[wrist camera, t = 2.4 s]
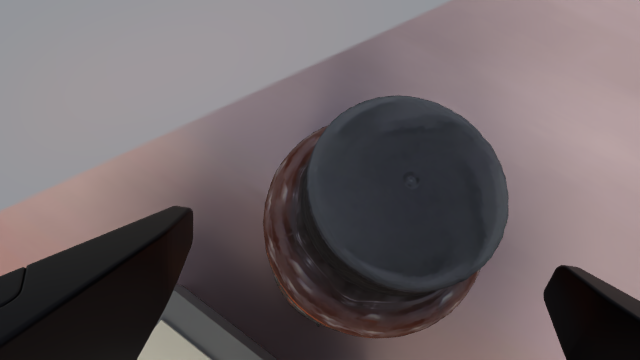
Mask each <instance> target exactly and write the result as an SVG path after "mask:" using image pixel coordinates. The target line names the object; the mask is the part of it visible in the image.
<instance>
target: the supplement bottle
mask: <svg viewBox="0 0 640 360" xmlns="http://www.w3.org/2000/svg"><path fill="white" fill-rule="evenodd" d="M507 219H508V190H507V184H506V178H505V175H504V173H503V169H502V166H501V164H500V162H499V160H498V158H497V156H496V154H495V152H494V150H493V148H492V147H491V145H490V144H489V143H488V142H487V141H486V140H485V139H484V138H483V136H482V135H481V134H480V132H479V131H478V130H477V129H476V128H475V127H474V126H473V125H472V124H470V123H469V122H468V121H467V120H466V119H465V118H463V117H462V116H460V115H458V114H456V113H454V112H453V111H452V110H450V109H448V108H445V107H443V106H441V105H440V104H438V103H434V102H431V101H428V100H424V99H420V98H415V97H409V96H387V97H378V98H375V99H371V100H368V101H364V102H362V103H359V104H357V105H356V106H354V107H351V108H349V109H348V110H347V111H345V112H343V113H342V114H340V115H339V116H338V117H337V118H336V119H335V120H334V121H332V123H331V124H330V125H328V126H326V127H323V128H321V129H320V130H318V131H316V132H314V133H312V134H311V135H310V136H308V137H307V138H305V139H304V140H302V141H301V142H300V143H299V144H298V145H297V146H296V147H295V148H294V149H293V150H292V151H291V152H290V153H289V154H288V156H287V157H286V158H285V159H284V161H283V162H282V163H281V165H280V166H279V168H278V169H277V171H276V173H275V175H274V177H273V180H272V182H271V185H270V189H269V192H268V195H267V199H266V202H265V210H264V219H263V226H264V237H265V244H266V252H267V256H268V259H269V262H270V265H271V268H272V271H273V274H274V277H275V281H276V283H277V286H278V287H279V289H280V291H281V293H282V295H283V296H284V297H285V298H286V300H287V301H288V302H289V303H290V304H291V305H292V307H293V308H295V309H296V310H297V311H298V312H299V313H301V314H302V315H303V316H305V317H307V318H308V319H311V320H312V321H314V322H315V323H316V324H317V326H319V325H318V323H319V324H321V325H323V326H325V327H327V328H331V329H333V330H336V331H341V332H343V333H346V334H350V335H354V336H359V337H366V338H391V337H400V336H404V335H408V334H411V333H415V332H418V331H420V330H423V329H425V328H427V327H429V326H431V325H433V324H435V323H436V322H438V321H439V320H440V319H442V318H444V317H445V316H447V315H448V314H449V313H451V312H452V311H453V309H454V308H455V307H456V306H458V305H459V303H460V302H461V301H462V300H463V298H464V297H465V296H466V294H467V293H468V292H469V290H470V288H471V287H472V285H473V283H474V282H475V280H476V277H477V275H478V273H479V272H480V269H481V268H482V267H483V266H484V265H485V264H486V263H487V262H488V260H489V259H490V258H491V257H492V255H493V253H494V251H495V250H496V248H497V247H498V245H499V243H500V241H501V239H502V237H503V233H504V229H505V226H506V223H507Z"/></svg>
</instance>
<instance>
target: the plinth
mask: <svg viewBox="0 0 640 360" xmlns="http://www.w3.org/2000/svg"><path fill="white" fill-rule="evenodd" d="M137 360H277V359H276V358H275V357H274V356H272V355H271V354H270V353H268V352H267V351H266V350H265V349H263V348H262V347H261V346H259V345H258V344H257V343H256V342H254V341H253V340H252V339H250V338H249V337H248V336H246V335H245V334H244V333H243V332H241V331H240V330H239V329H237V328H236V327H235V326H234V325H232V324H231V323H230V322H228V321H227V320H226V319H225V318H223V317H222V316H221V315H219V314H218V313H217V312H216V311H214V310H213V309H212V308H210V307H209V306H208V305H206V304H205V303H204V302H203V301H201V300H200V299H199V298H197V297H196V296H195V295H194V294H192V293H191V292H190V291H188V290H187V289H186V288H185V287H183V286H182V285H178V284H176V285H175V288H174V290H173V293H172V295H171V297H170V300H169V302H168V304H167V306H166V308H165V310H164V311H163V313H162V315H161V317H160V319H159V320H158V322H157V324H156V326H155V328H154V330H153V331H152V333H151V335H150V337H149V339H148V340H147V342H146V344H145V346H144V348H143V350H142V351H141V353H140V355H139V357H138V359H137Z"/></svg>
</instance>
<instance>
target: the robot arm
mask: <svg viewBox="0 0 640 360" xmlns="http://www.w3.org/2000/svg"><path fill="white" fill-rule="evenodd" d="M192 240H193V211H192V209H191V208H187V207H180V206H173V207H170V208H168V209H165V210H163V211H160V212H158V213H155V214H153V215H150V216H148V217H145V218H143V219H140V220H138V221H136V222H133V223H131V224H128V225H126V226H123V227H121V228H118V229H116V230H113V231H111V232H108V233H106V234H104V235H101V236H99V237H96V238H94V239H91V240H89V241H86V242H84V243H81V244H79V245H76V246H74V247H71V248H69V249H67V250H64V251H62V252H59V253H57V254H54V255H52V256H49V257H47V258H44V259H42V260H39V261H37V262H34V263H32V264H30V265H28V266H27V267H26V268H24V267H22V268H19V269H17V270H15V271H12V272H10V273H7V274H5V275H2V276H0V360H137V359H138V357H139V355H140V353H141V351H142V350H143V348H144V346H145V344H146V342H147V340H148V339H149V337H150V335H151V333H152V331H153V330H154V328H155V326H156V324H157V322H158V320H159V319H160V317H161V315H162V313H163V311H164V310H165V308H166V306H167V304H168V302H169V300H170V297H171V295H172V293H173V290H174V288H175V285H176V283H177V280H178V278H179V275H180V273H181V270H182V268H183V265H184V263H185V260H186V258H187V255H188V253H189V250H190V248H191V245H192ZM544 301H545V304H546V307H547V309H548V312H549V315H550V318H551V320H552V323H553V326H554V328H555V331H556V334H557V336H558V339H559V342H560V344H561V347H562V350H563V352H564V355H565V357H566V360H640V301H639V300H637V299H635V298H633V297H631V296H630V295H628V294H626V293H624V292H622V291H621V290H619V289H617V288H615V287H613V286H611V285H610V284H608V283H606V282H604V281H602V280H601V279H599V278H597V277H595V276H593V275H591V274H590V273H588V272H586V271H584V270H582V269H581V268H578V267H573V266H566V265H561V266H559V267H557V268H556V270H555V271H554V273H553V275H552V277H551V279H550V281H549V282H548V284H547V286H546V288H545V290H544Z"/></svg>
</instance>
